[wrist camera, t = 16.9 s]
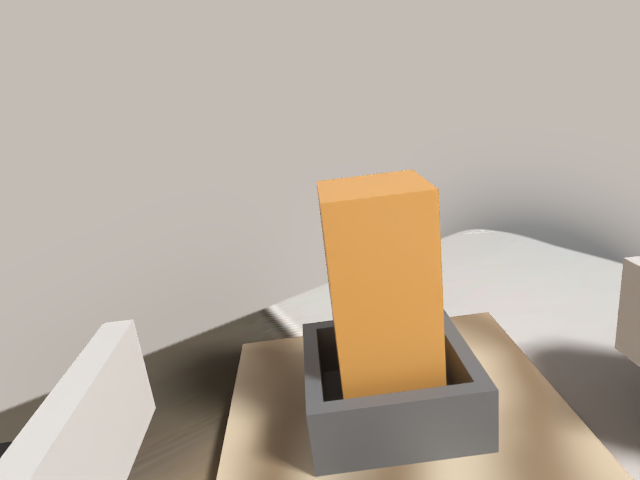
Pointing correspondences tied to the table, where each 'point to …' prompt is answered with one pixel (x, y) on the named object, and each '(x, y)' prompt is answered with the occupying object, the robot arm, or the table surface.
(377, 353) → the connector plug
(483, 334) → the mounting board
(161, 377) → the table surface
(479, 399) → the socket cup
